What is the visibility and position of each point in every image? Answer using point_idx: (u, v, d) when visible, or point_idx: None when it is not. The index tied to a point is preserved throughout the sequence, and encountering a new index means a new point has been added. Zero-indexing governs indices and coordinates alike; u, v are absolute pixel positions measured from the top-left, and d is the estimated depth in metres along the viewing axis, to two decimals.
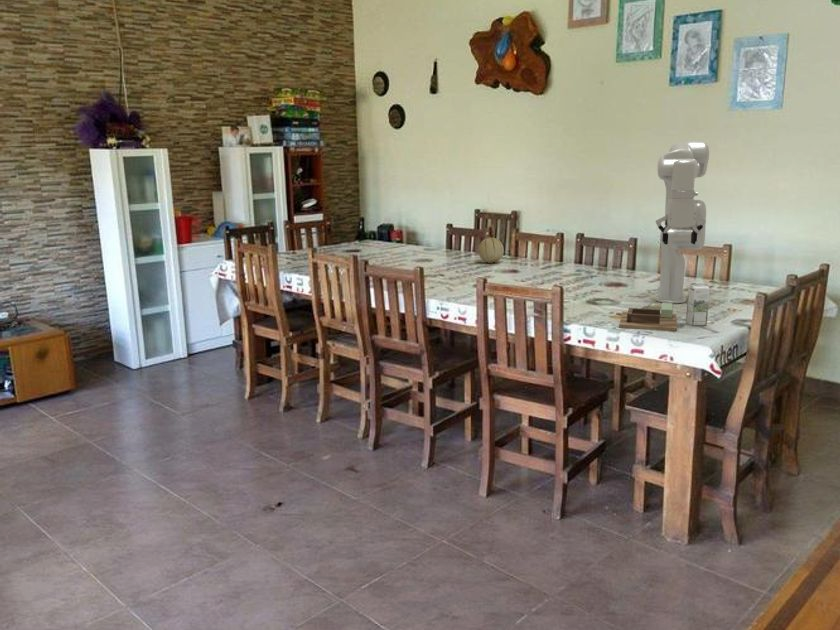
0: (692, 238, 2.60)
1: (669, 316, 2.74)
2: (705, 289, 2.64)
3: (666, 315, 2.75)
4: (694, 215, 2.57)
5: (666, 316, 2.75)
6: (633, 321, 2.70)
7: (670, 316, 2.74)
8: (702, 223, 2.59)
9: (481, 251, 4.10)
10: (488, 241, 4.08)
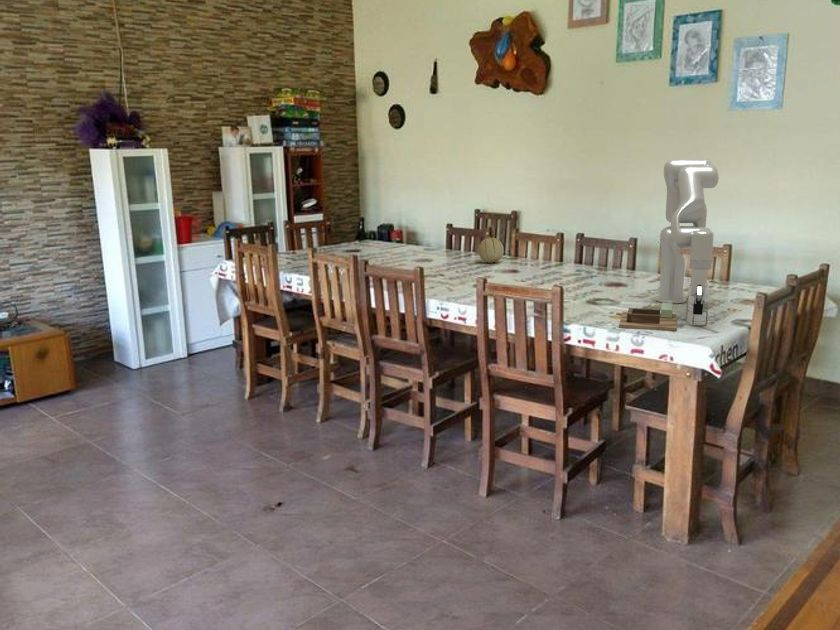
0: None
1: (669, 316, 2.74)
2: None
3: (666, 315, 2.75)
4: None
5: (666, 316, 2.75)
6: (633, 321, 2.70)
7: (670, 316, 2.74)
8: None
9: (481, 251, 4.10)
10: (488, 241, 4.08)
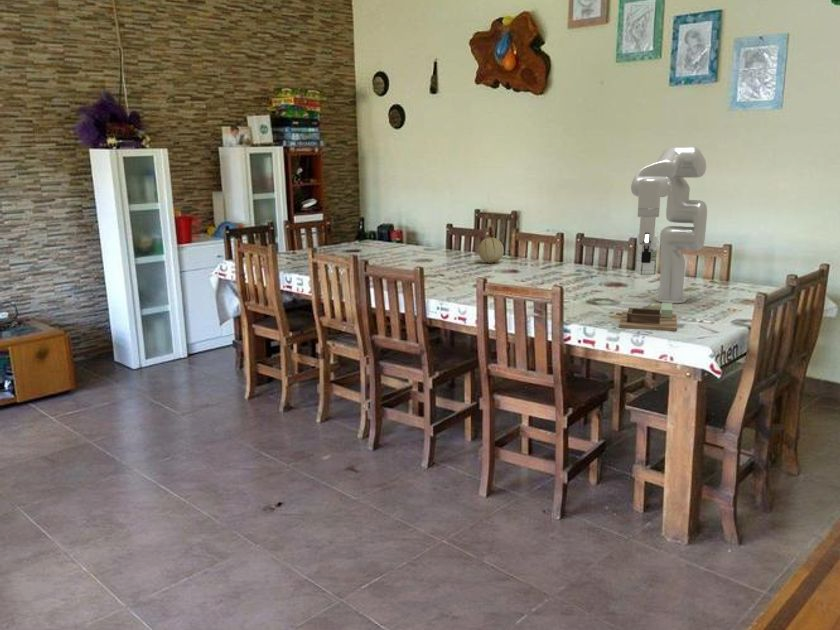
0: None
1: (669, 316, 2.74)
2: None
3: (666, 315, 2.75)
4: None
5: (666, 316, 2.75)
6: (633, 321, 2.70)
7: (670, 316, 2.74)
8: None
9: (481, 251, 4.10)
10: (488, 241, 4.08)
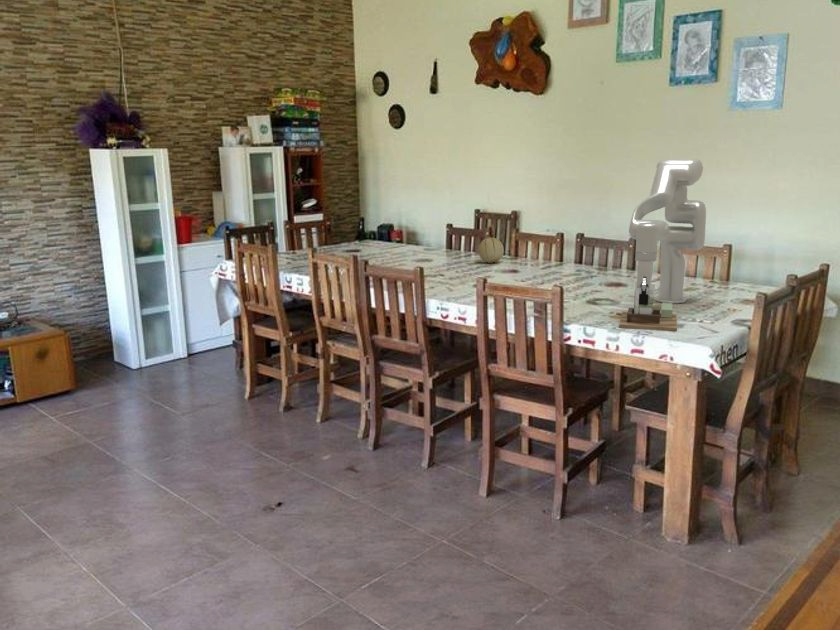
0: None
1: (669, 316, 2.74)
2: (650, 285, 2.68)
3: (666, 315, 2.75)
4: None
5: (666, 316, 2.75)
6: (633, 321, 2.70)
7: (670, 316, 2.74)
8: None
9: (481, 251, 4.10)
10: (488, 241, 4.08)
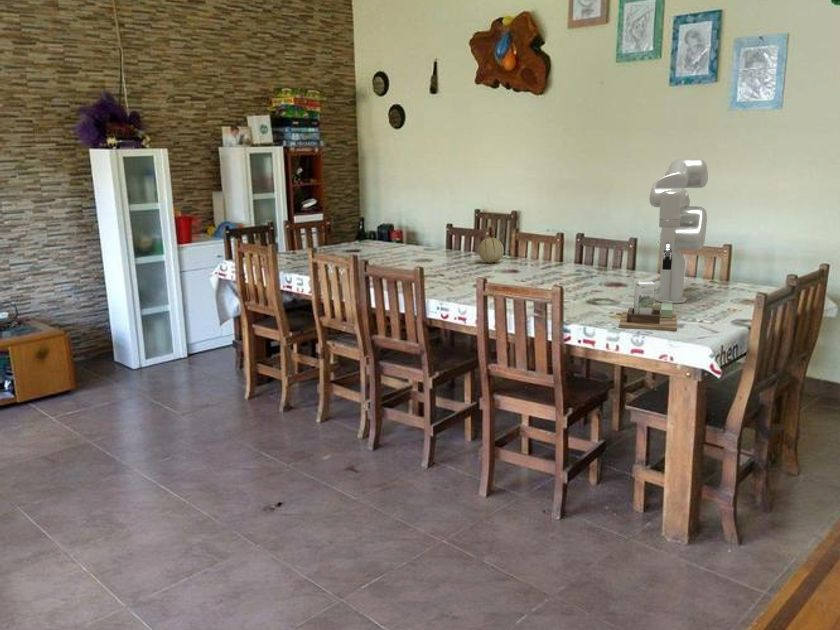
0: None
1: (669, 316, 2.74)
2: (650, 285, 2.68)
3: (666, 315, 2.75)
4: None
5: (666, 316, 2.75)
6: (633, 321, 2.70)
7: (670, 316, 2.74)
8: None
9: (481, 251, 4.10)
10: (488, 241, 4.09)
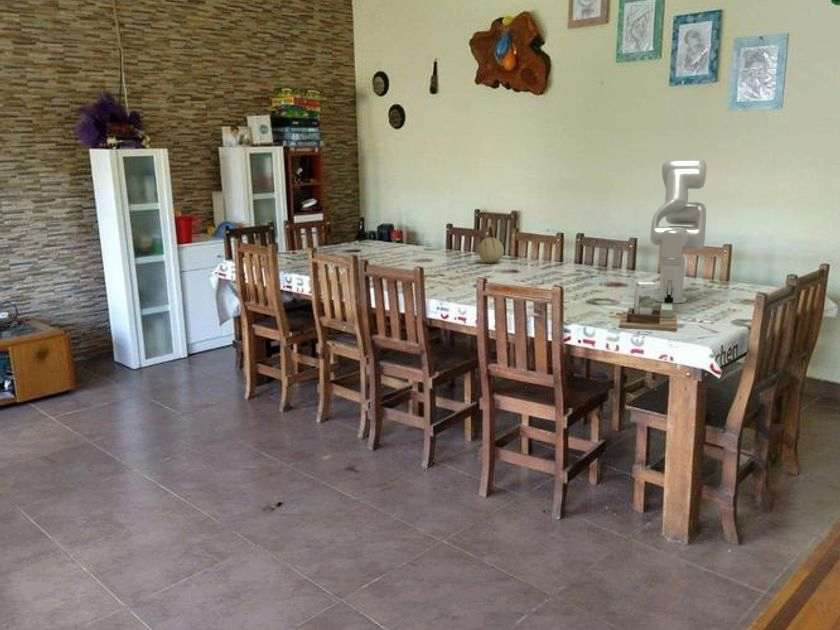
0: None
1: (669, 316, 2.74)
2: (650, 285, 2.68)
3: (666, 315, 2.75)
4: None
5: (666, 316, 2.75)
6: (633, 321, 2.70)
7: (670, 316, 2.74)
8: None
9: (481, 251, 4.10)
10: (488, 241, 4.08)
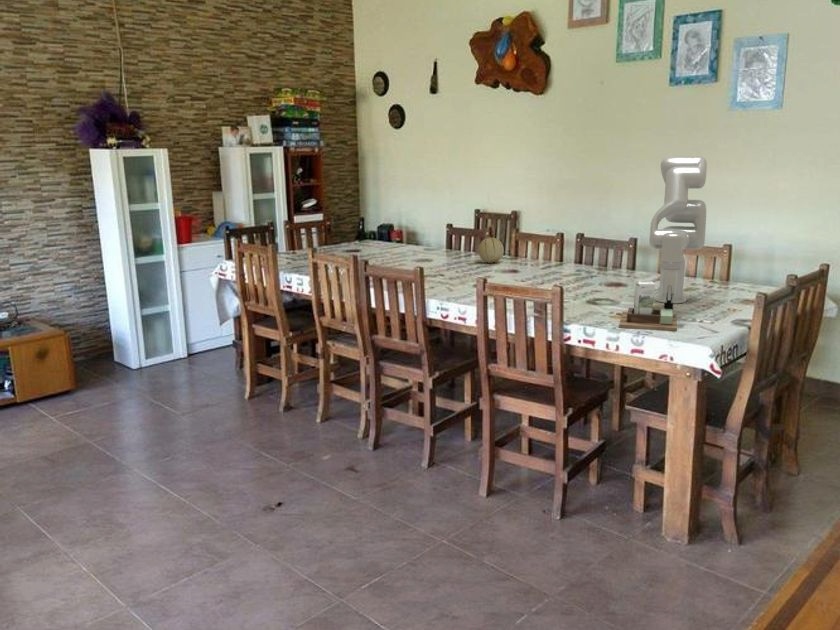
0: None
1: (669, 322, 2.65)
2: (650, 285, 2.68)
3: (666, 321, 2.65)
4: None
5: (666, 322, 2.65)
6: (633, 321, 2.70)
7: (670, 322, 2.65)
8: None
9: (481, 251, 4.10)
10: (488, 241, 4.08)
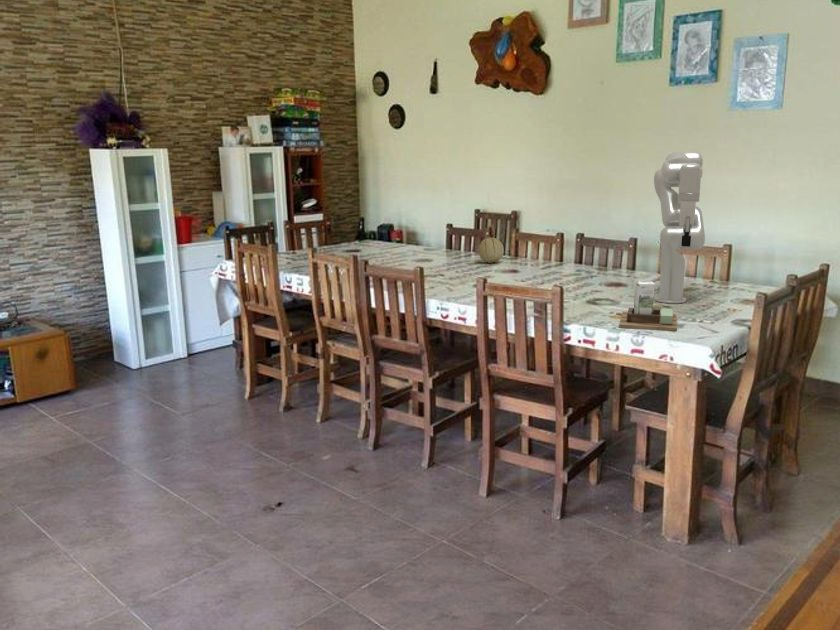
0: None
1: (669, 322, 2.65)
2: (650, 285, 2.68)
3: (666, 321, 2.65)
4: None
5: (666, 322, 2.66)
6: (633, 321, 2.70)
7: (670, 322, 2.65)
8: None
9: (481, 251, 4.10)
10: (488, 241, 4.08)
